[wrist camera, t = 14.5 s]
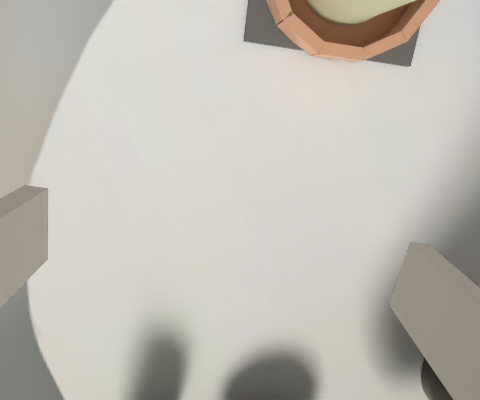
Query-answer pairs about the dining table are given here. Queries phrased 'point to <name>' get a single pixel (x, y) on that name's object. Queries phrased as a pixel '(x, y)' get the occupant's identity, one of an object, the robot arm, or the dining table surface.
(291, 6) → the bowl
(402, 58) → the mat
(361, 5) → the can
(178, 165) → the dining table surface
